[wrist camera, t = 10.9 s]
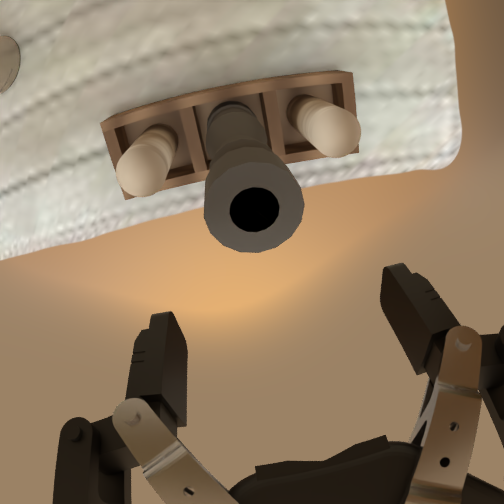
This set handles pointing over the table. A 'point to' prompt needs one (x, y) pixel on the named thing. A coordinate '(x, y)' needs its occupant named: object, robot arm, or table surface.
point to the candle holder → (247, 184)
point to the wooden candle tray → (195, 128)
